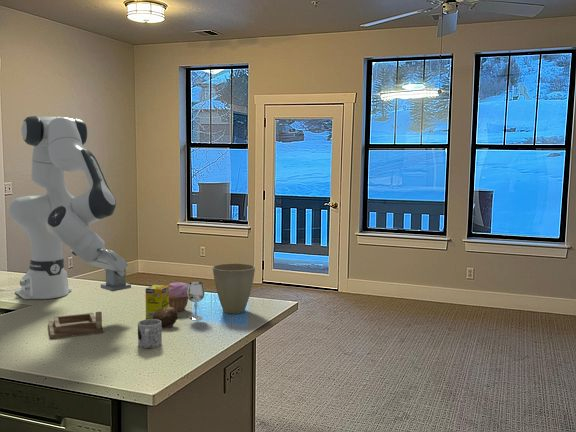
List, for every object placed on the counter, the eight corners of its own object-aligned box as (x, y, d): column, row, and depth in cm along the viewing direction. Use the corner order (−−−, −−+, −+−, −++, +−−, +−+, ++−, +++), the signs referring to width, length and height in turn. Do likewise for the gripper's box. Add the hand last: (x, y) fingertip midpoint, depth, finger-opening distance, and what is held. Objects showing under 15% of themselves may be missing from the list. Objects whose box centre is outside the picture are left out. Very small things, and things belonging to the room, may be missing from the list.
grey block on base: (100, 287, 188) (100, 259, 187) (119, 284, 193) (118, 257, 192) (112, 291, 183) (112, 262, 182) (131, 287, 189) (130, 259, 188)
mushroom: (172, 310, 189) (167, 298, 184) (185, 323, 184) (180, 311, 180) (152, 324, 185) (146, 312, 181) (164, 338, 180) (159, 326, 176)
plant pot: (263, 311, 200) (263, 267, 198) (229, 319, 190) (229, 272, 188) (238, 303, 211) (238, 261, 209) (204, 310, 201) (204, 266, 200)
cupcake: (161, 309, 202) (160, 281, 201) (182, 305, 208) (182, 278, 207) (173, 314, 195) (173, 285, 194) (195, 310, 201) (195, 282, 200)
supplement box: (162, 322, 186) (161, 289, 185) (145, 320, 187) (144, 288, 186) (169, 317, 192) (169, 285, 191) (153, 315, 193) (152, 284, 192)
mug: (140, 341, 167) (140, 319, 166) (163, 341, 167) (163, 319, 166) (133, 352, 157) (133, 329, 156) (158, 352, 157) (157, 329, 156)
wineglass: (183, 318, 191) (183, 283, 190) (197, 314, 195) (197, 280, 194) (194, 321, 187) (194, 286, 186) (208, 318, 191) (207, 283, 190)
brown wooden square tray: (48, 325, 181) (47, 306, 181) (97, 319, 188) (97, 301, 187) (50, 338, 168) (50, 318, 167) (103, 332, 174) (103, 312, 174)
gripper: (115, 243, 175) (141, 270, 183) (79, 236, 188) (106, 261, 196) (102, 259, 172) (130, 286, 180) (67, 251, 185) (94, 276, 193)
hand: (117, 273), depth 188 cm, fingers closed on grey block on base, 5 cm apart
